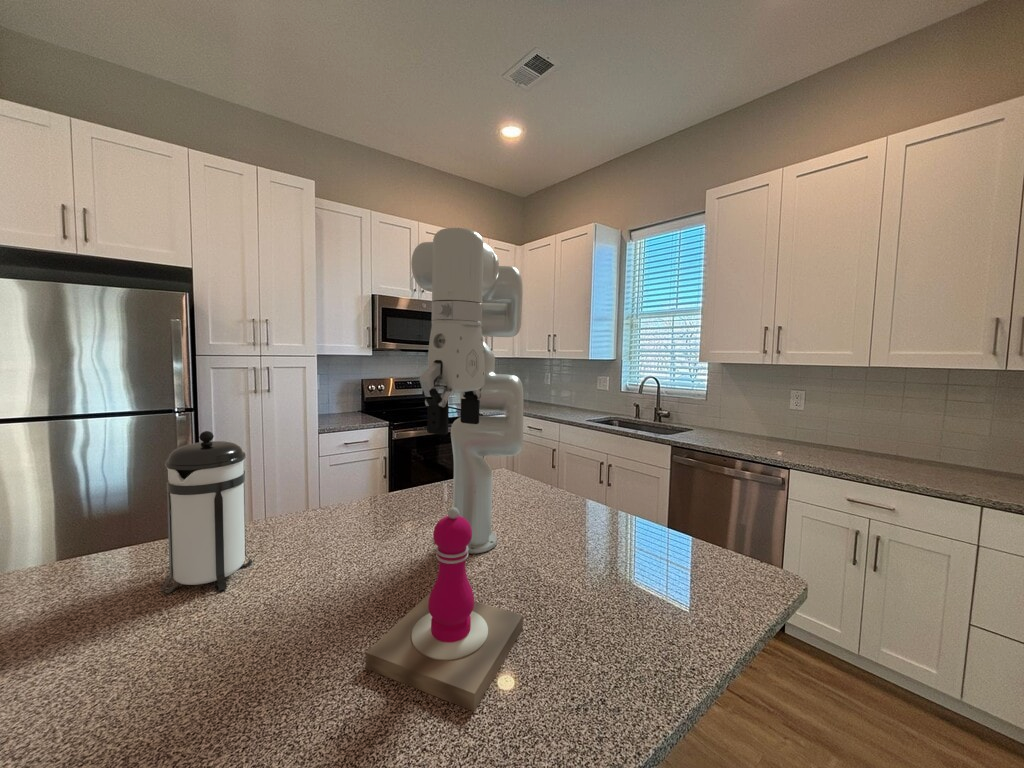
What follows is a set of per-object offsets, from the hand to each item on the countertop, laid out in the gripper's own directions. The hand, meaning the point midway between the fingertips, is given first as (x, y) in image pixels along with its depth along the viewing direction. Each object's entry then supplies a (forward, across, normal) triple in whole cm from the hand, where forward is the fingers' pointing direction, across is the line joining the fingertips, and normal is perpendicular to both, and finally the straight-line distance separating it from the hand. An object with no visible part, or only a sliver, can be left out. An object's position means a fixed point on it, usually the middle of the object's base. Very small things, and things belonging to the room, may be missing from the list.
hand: (454, 428), depth 64 cm
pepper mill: (+33, 0, 0) cm, 33 cm away
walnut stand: (+35, 0, 0) cm, 35 cm away
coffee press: (+36, -2, +55) cm, 65 cm away
